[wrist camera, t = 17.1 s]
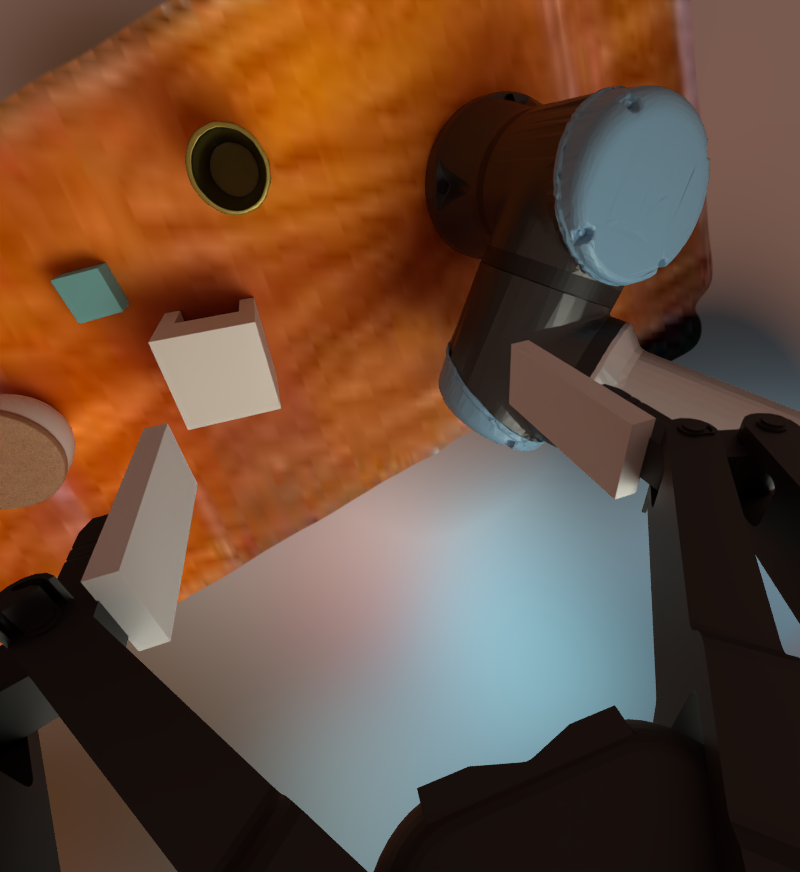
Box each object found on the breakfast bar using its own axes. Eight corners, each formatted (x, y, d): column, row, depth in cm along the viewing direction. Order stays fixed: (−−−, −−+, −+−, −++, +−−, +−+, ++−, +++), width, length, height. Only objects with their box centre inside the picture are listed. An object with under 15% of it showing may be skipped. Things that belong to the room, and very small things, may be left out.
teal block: (130, 303, 42) (123, 311, 40) (88, 314, 42) (79, 323, 39) (106, 262, 40) (97, 268, 38) (62, 273, 39) (50, 280, 37)
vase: (267, 135, 39) (276, 121, 27) (270, 210, 42) (279, 227, 30) (194, 123, 37) (169, 102, 25) (202, 203, 40) (184, 218, 28)
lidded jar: (-55, 374, 41) (-124, 421, 33) (79, 379, 44) (44, 423, 37) (-21, 466, 46) (-74, 525, 38) (96, 464, 49) (69, 517, 42)
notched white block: (276, 373, 50) (281, 408, 43) (197, 390, 48) (188, 430, 41) (253, 297, 45) (255, 322, 38) (164, 313, 43) (148, 342, 36)
